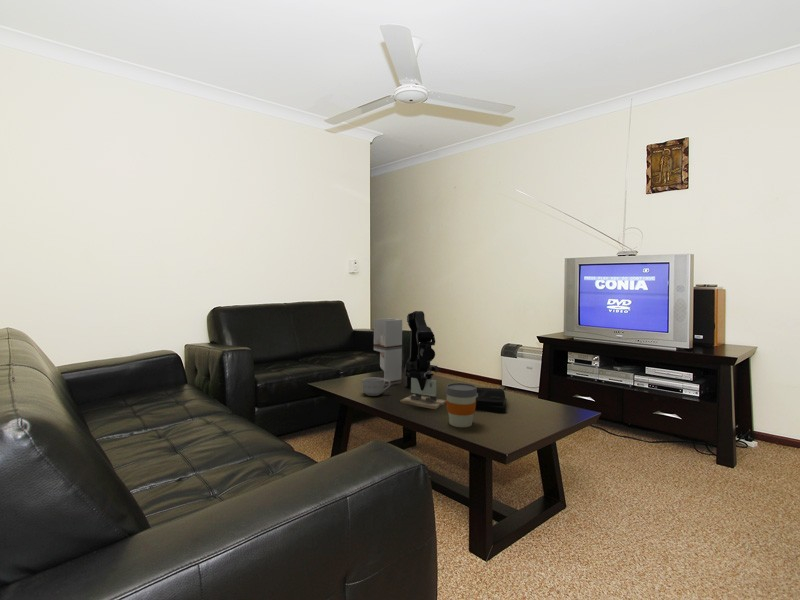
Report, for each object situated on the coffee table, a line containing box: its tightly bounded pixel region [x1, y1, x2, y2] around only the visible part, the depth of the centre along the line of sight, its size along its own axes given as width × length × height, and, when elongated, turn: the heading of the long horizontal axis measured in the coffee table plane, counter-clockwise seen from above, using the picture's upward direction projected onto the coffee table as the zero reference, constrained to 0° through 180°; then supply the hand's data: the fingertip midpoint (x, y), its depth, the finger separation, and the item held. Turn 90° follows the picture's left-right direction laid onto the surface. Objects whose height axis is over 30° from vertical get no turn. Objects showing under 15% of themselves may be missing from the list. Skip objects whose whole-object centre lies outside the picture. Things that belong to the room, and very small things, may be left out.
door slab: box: [410, 378, 437, 397], centre depth 203 cm, size 3×12×7 cm, turn 59°
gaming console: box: [475, 386, 507, 415], centre depth 204 cm, size 27×20×7 cm
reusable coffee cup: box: [445, 382, 477, 428], centre depth 175 cm, size 13×12×15 cm
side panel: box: [399, 393, 446, 410], centre depth 204 cm, size 12×18×3 cm, turn 59°
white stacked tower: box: [373, 317, 403, 387], centre depth 241 cm, size 11×11×35 cm
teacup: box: [362, 376, 392, 397], centre depth 216 cm, size 14×11×8 cm
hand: (423, 389), depth 204 cm, fingers closed on door slab, 2 cm apart
